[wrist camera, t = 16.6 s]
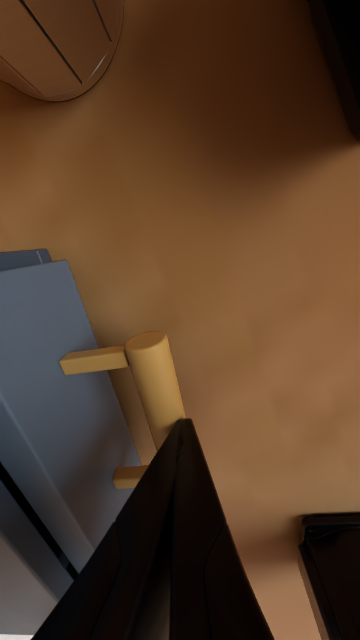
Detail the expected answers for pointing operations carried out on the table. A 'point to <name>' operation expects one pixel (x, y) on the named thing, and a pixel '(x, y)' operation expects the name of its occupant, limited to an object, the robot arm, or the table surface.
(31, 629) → the cabinet
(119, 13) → the measuring cup
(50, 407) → the drawer
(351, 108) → the end cap
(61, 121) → the table surface
